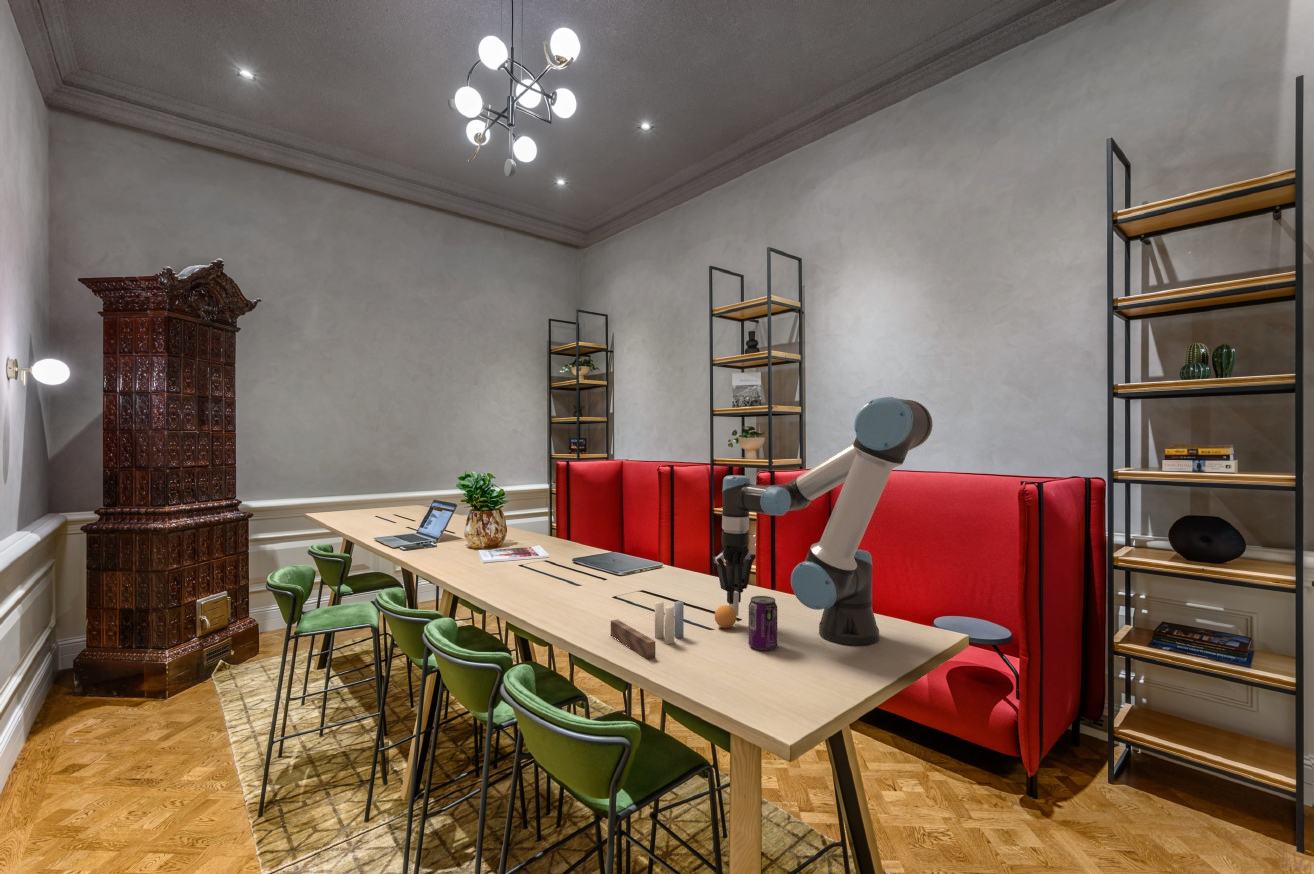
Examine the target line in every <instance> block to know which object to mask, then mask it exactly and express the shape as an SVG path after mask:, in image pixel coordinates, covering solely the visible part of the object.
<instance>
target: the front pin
mask: <svg viewBox="0 0 1314 874" xmlns="http://www.w3.org/2000/svg"><path fill="white" fill-rule="evenodd" d="M673 603H674V604H673V605H674V606H673V607H674V639H678V640H679V639H684V636H685V635H684V634H685V633H684V628H685V627H684V626H685V625H684V624H685V623H684V613H685V612H684V611H685V610H684V601H675V602H673Z"/></svg>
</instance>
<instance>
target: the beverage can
mask: <svg viewBox="0 0 1314 874" xmlns="http://www.w3.org/2000/svg"><path fill="white" fill-rule="evenodd" d="M778 642H779V641H778V605H777V603H776V598H774V597H771V596H768V595H754V596H751V597H750V602H749V603H748V645H749V646H750V647H752V648H753V649H755V650H759V651H771V650H773V649H775V648H777V647H778V644H779V643H778Z"/></svg>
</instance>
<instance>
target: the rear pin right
mask: <svg viewBox="0 0 1314 874" xmlns="http://www.w3.org/2000/svg"><path fill="white" fill-rule="evenodd" d="M654 638H655V639H657V640H658V639H659V640H660V639H661V640H662V639H665V602H664V601H655V602H654Z"/></svg>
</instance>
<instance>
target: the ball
mask: <svg viewBox="0 0 1314 874" xmlns="http://www.w3.org/2000/svg"><path fill="white" fill-rule="evenodd" d="M714 621H715V622H716V624H717V625H718V627H720V628H723V629H729V628H731V627H733V626H734V625H735V623H736V622H737V616H736V612H735V611H734V609H733V608H732V607H730V606H729V605H727V604H726V605H725V604H724V605H720V606H719V607H717V609H716V610H715V612H714Z"/></svg>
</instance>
